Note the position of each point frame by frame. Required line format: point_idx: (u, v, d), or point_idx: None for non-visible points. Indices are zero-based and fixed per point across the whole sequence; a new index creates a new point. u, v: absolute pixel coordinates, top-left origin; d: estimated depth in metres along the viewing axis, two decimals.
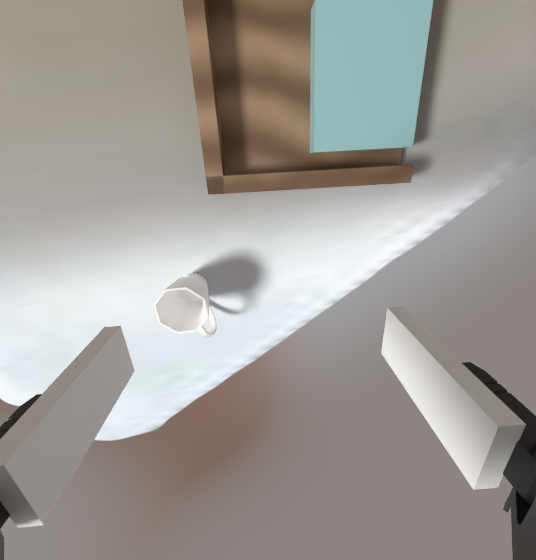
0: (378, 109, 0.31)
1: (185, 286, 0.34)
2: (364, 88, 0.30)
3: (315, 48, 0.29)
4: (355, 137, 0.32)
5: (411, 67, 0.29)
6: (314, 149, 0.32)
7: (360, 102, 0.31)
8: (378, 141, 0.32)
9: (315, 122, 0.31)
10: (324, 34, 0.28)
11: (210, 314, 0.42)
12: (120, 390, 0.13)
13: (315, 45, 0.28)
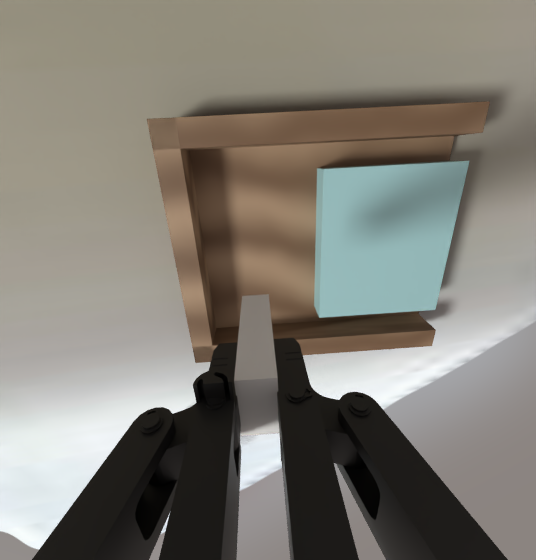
0: (396, 276, 0.26)
1: None
2: (380, 256, 0.25)
3: (322, 219, 0.24)
4: (369, 302, 0.27)
5: (437, 235, 0.25)
6: (320, 314, 0.27)
7: (374, 270, 0.26)
8: (394, 305, 0.27)
9: (321, 290, 0.26)
10: (333, 205, 0.23)
11: None
12: None
13: (322, 216, 0.23)
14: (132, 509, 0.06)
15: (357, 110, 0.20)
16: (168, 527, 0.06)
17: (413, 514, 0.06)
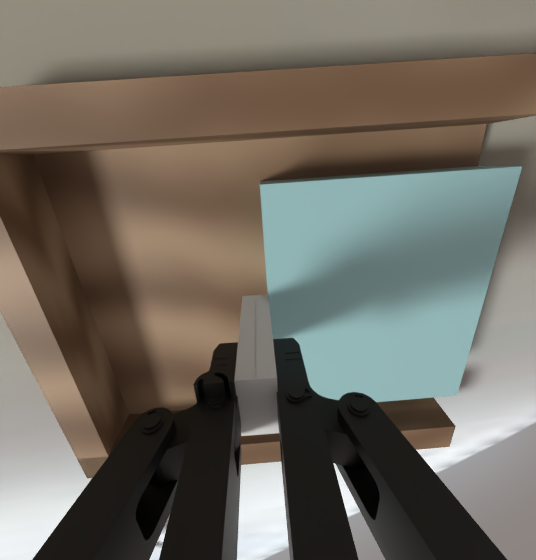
0: (395, 351, 0.16)
1: None
2: (368, 323, 0.15)
3: (267, 267, 0.14)
4: (353, 388, 0.17)
5: (463, 290, 0.15)
6: None
7: (360, 342, 0.16)
8: (393, 391, 0.17)
9: None
10: (283, 246, 0.13)
11: None
12: None
13: None
14: (132, 509, 0.06)
15: (307, 72, 0.10)
16: (168, 527, 0.06)
17: (412, 514, 0.06)
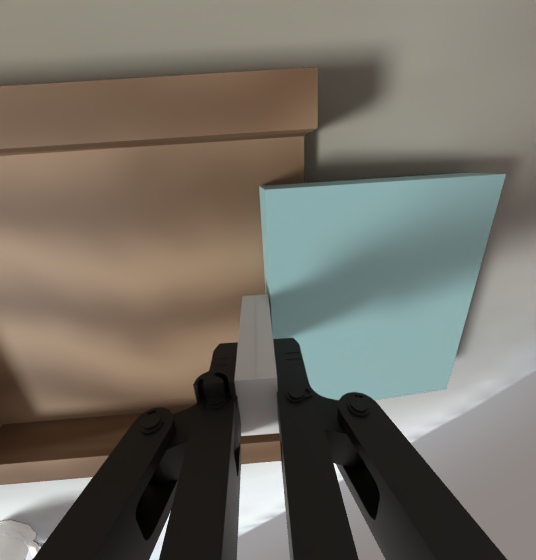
0: (391, 349, 0.17)
1: None
2: (367, 323, 0.16)
3: (270, 272, 0.14)
4: (351, 388, 0.18)
5: (453, 289, 0.16)
6: None
7: (358, 343, 0.16)
8: (389, 388, 0.18)
9: None
10: (287, 250, 0.13)
11: None
12: None
13: (270, 268, 0.14)
14: (132, 509, 0.06)
15: (51, 87, 0.10)
16: (168, 527, 0.06)
17: (413, 514, 0.06)
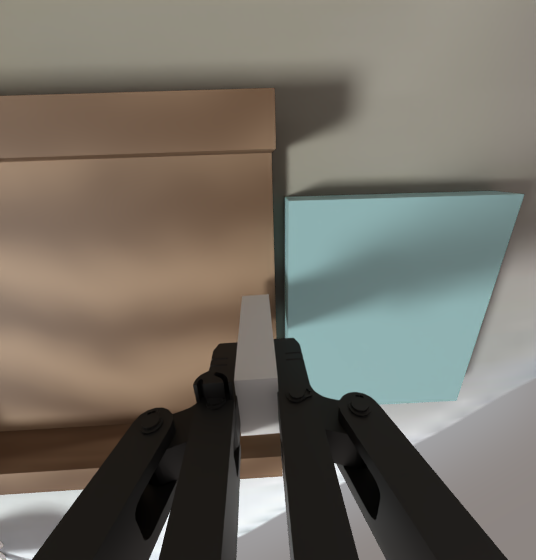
0: (402, 356, 0.17)
1: None
2: (378, 330, 0.17)
3: (289, 275, 0.15)
4: (360, 390, 0.18)
5: (466, 303, 0.16)
6: None
7: (369, 348, 0.17)
8: (398, 394, 0.19)
9: None
10: (306, 256, 0.15)
11: None
12: None
13: (289, 271, 0.15)
14: (132, 509, 0.06)
15: (1, 100, 0.10)
16: (168, 527, 0.06)
17: (413, 514, 0.06)
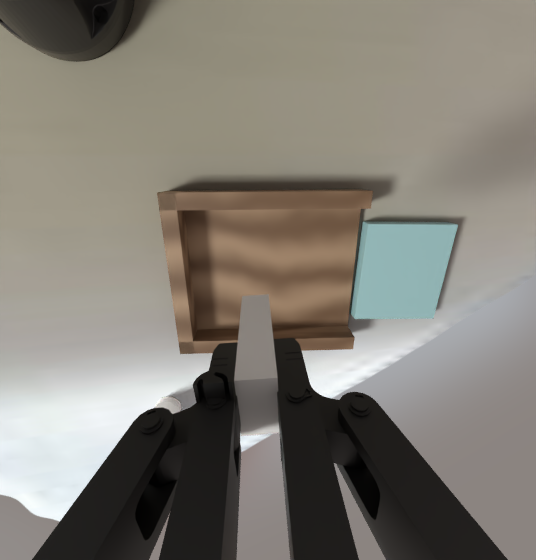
0: (408, 293, 0.39)
1: None
2: (399, 279, 0.38)
3: (364, 253, 0.37)
4: (389, 310, 0.40)
5: (436, 269, 0.38)
6: (355, 316, 0.40)
7: (394, 288, 0.39)
8: (406, 313, 0.40)
9: (358, 299, 0.39)
10: (372, 246, 0.36)
11: None
12: None
13: (364, 252, 0.37)
14: (132, 509, 0.06)
15: (289, 192, 0.31)
16: (168, 527, 0.06)
17: (413, 514, 0.06)
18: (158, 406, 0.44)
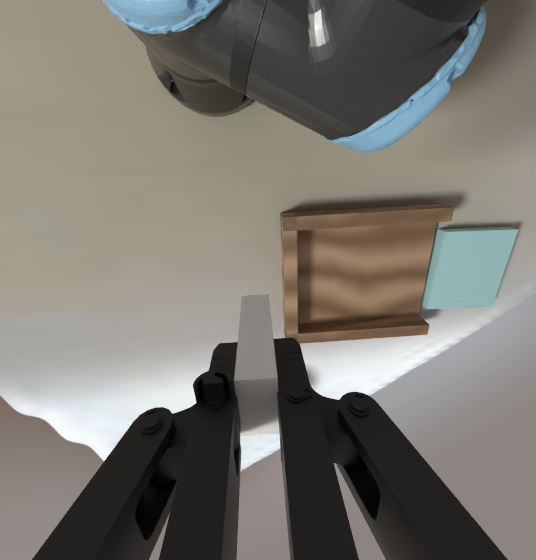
0: (473, 287, 0.47)
1: None
2: (466, 276, 0.46)
3: (439, 256, 0.45)
4: (456, 301, 0.48)
5: (498, 266, 0.46)
6: (427, 307, 0.48)
7: (462, 283, 0.47)
8: (469, 303, 0.48)
9: (431, 293, 0.47)
10: (446, 249, 0.44)
11: None
12: None
13: (439, 254, 0.44)
14: (132, 509, 0.06)
15: (387, 212, 0.39)
16: (168, 527, 0.06)
17: (413, 514, 0.06)
18: None
